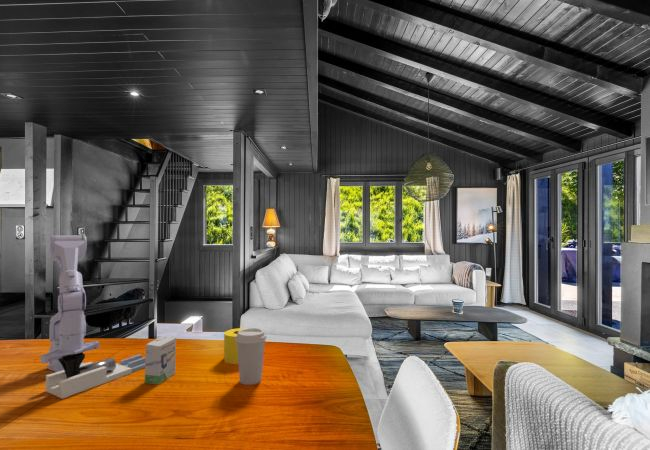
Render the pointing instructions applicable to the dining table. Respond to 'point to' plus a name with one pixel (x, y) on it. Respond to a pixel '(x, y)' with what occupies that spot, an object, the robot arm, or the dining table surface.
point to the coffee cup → (250, 354)
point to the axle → (98, 366)
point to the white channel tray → (82, 380)
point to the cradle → (134, 362)
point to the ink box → (160, 360)
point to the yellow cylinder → (231, 346)
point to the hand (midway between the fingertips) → (71, 380)
